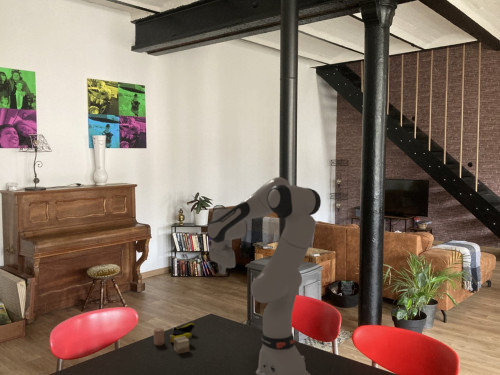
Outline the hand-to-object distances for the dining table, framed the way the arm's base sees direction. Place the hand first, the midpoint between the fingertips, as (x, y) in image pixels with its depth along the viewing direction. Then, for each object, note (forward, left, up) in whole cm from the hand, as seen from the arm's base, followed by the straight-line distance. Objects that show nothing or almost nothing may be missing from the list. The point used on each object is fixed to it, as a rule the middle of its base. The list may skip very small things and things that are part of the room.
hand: (222, 273), depth 209 cm
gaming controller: (+6, +17, -30) cm, 35 cm away
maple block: (-5, +22, -29) cm, 37 cm away
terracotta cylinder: (+7, +28, -29) cm, 41 cm away
